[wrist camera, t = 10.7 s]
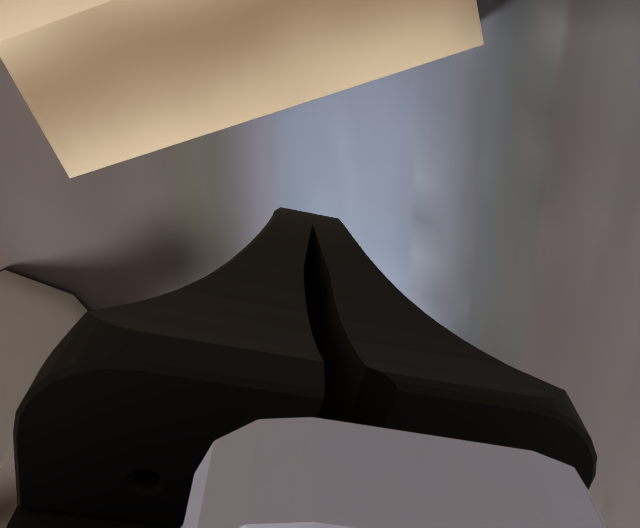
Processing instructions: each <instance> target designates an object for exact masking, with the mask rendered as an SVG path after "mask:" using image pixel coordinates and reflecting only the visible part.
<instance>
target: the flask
mask: <svg viewBox="0 0 640 528" xmlns="http://www.w3.org/2000/svg"><path fill="white" fill-rule="evenodd" d="M86 312H87V310H86V308H85V307H84V306H83V305H82V304H81V303H80V302H79V300H78V299H77V298H76V297H75V296H74V295H73V294H70V293H67V292H64V291H62V290H59V289H56V288H53V287H50V286H48V285H45V284H42V283H39V282H37V281H34V280H31V279H28V278H26V277H23V276H20V275H17V274H15V273H12V272H9V271H6V270H3V271H1V272H0V469H1V467H2V466H4V465H5V464H6V463H7V462H8V461H9V460H10V459H12V458H13V457H14V444H13V428H14V420H15V413H16V410H17V408H18V407H19V405H20V403H21V401H22V400H23V398H24V396H25V394H26V393H27V391H28V389H29V388H30V386H31V384H32V382H33V381H34V379H35V377H36V375H37V374H38V372H39V370H40V368H41V367H42V365H43V364H44V362H45V361H46V359H47V358H48V356H49V355H50V353H51V352H52V351H53V349H54V348H55V347H56V346H57V345H58V344H59V342H60V341H61V340H62V339H63V338H64V336H65V335H66V334H67V333H68V332H69V331H70V330H71V328H72V327H73V326H74V325H75V324H76V323H77V322H78V320H79V319H80V318H81V317H82V316H83V315H84V314H85V313H86Z"/></svg>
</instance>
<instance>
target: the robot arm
mask: <svg viewBox="0 0 640 528" xmlns="http://www.w3.org/2000/svg"><path fill="white" fill-rule="evenodd" d="M13 444H14V459H15V474H16V489H17V504H18V506H17V508H16V510H15V512H14V514H13V516H12V518H11V519H10V521H9V523H8V525H7V527H6V528H607V527H606V525H605V523H604V520H603V518H602V516H601V514H600V512H599V510H598V508H597V506H596V504H595V502H594V500H593V498H592V496H591V494H590V492H589V491H588V490H589V487H590V485H591V483H592V481H593V479H594V477H595V474H596V462H597V455H596V452H595V449H594V446H593V443H592V440H591V437H590V436H589V434H588V432H587V430H586V428H585V426H584V424H583V422H582V421H581V419H580V417H579V415H578V413H577V411H576V409H575V407H574V406H573V404H572V402H571V400H570V398H569V396H568V395H567V393H566V391H565V390H563V389H560V388H558V387H556V386H554V385H551V384H549V383H547V382H545V381H542V380H540V379H538V378H535V377H533V376H531V375H529V374H526V373H524V372H522V371H520V370H517V369H515V368H513V367H511V366H509V365H507V364H505V363H503V362H501V361H499V360H498V359H496V358H494V357H492V356H490V355H488V354H486V353H485V352H483V351H481V350H479V349H478V348H476V347H474V346H473V345H471V344H469V343H468V342H466V341H464V340H463V339H461V338H460V337H458V336H457V335H455V334H454V333H452V332H451V331H449V330H448V329H446V328H445V327H443V326H442V325H440V324H439V323H438V322H436V321H435V320H434V319H432V318H431V317H430V316H428V315H427V314H426V313H424V312H423V311H422V310H421V309H420V308H418V307H417V306H416V305H415V304H414V303H413V302H411V301H410V300H409V299H408V298H407V297H406V296H404V295H403V294H402V293H401V292H400V291H399V290H398V289H397V288H396V287H395V286H394V285H393V284H392V283H391V282H390V281H389V280H388V279H387V278H386V277H385V275H384V274H383V273H382V272H381V271H380V270H379V269H378V268H377V267H376V265H375V264H374V263H373V262H372V261H371V260H370V258H369V257H368V256H367V255H366V253H365V252H364V251H363V250H362V248H361V247H360V246H359V245H358V243H357V242H356V241H355V239H354V238H353V237H352V235H351V234H350V233H349V231H348V230H347V229H346V227H345V226H344V225H343V223H342V222H341V221H340V220H339V219H338V218H333V217H328V216H322V215H317V214H312V213H307V212H302V211H297V210H291V209H286V208H281V207H280V208H279V209H277V210H275V211H274V213H273V216H272V217H271V219H270V220H269V222H268V223H267V224H266V226H265V227H264V228H263V229H262V231H261V232H260V233H259V234H258V235H257V236H256V237H255V238H254V239H253V240H252V241H251V242H250V243H249V244H248V245H247V246H246V247H245V248H244V249H243V250H241V251H240V252H239V253H238V254H237V255H236V256H234V257H233V258H232V259H231V260H230V261H228V262H227V263H226V264H224V265H223V266H221V267H220V268H218V269H217V270H215V271H214V272H212V273H211V274H209V275H207V276H206V277H204V278H202V279H200V280H198V281H196V282H193V283H191V284H189V285H187V286H185V287H183V288H180V289H178V290H175V291H172V292H170V293H167V294H164V295H161V296H158V297H154V298H151V299H147V300H144V301H140V302H136V303H131V304H126V305H121V306H115V307H110V308H105V309H99V310H92V311H87V312H86V313H85V314H84V315H83V316H82V317H81V318H80V319H79V320H78V322H77V323H76V324H75V325H74V326H73V327H72V328H71V330H70V331H69V332H68V333H67V334H66V335H65V336H64V338H63V339H62V340H61V341H60V342H59V344H58V345H57V346H56V347H55V348H54V349H53V351H52V352H51V353H50V355H49V356H48V358H47V359H46V361H45V362H44V364H43V365H42V367H41V368H40V370H39V372H38V374H37V375H36V377H35V379H34V381H33V382H32V384H31V386H30V388H29V389H28V391H27V393H26V394H25V396H24V398H23V400H22V401H21V403H20V405H19V407H18V408H17V410H16V413H15V420H14V428H13Z"/></svg>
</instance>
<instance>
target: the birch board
mask: <svg viewBox="0 0 640 528" xmlns="http://www.w3.org/2000/svg"><path fill="white" fill-rule="evenodd" d="M481 45H484V43H483V37H482V31H481V25H480V19H479V13H478V7H477V1H476V0H0V57H1V59H2V61H3V63H4V64H5V66H6V68H7V70H8V71H9V73H10V75H11V77H12V78H13V80H14V82H15V84H16V85H17V87H18V89H19V91H20V92H21V94H22V96H23V97H24V99H25V101H26V103H27V104H28V106H29V108H30V110H31V111H32V113H33V115H34V117H35V118H36V120H37V122H38V124H39V125H40V127H41V129H42V131H43V132H44V134H45V136H46V138H47V139H48V141H49V143H50V144H51V146H52V148H53V150H54V151H55V153H56V155H57V157H58V158H59V160H60V162H61V164H62V165H63V167H64V169H65V171H66V172H67V174H68V176H69V178H72V177H75V176H79V175H82V174H85V173H88V172H91V171H94V170H97V169H100V168H103V167H106V166H110V165H113V164H116V163H119V162H122V161H125V160H128V159H131V158H134V157H137V156H140V155H144V154H147V153H150V152H153V151H156V150H159V149H162V148H165V147H168V146H171V145H174V144H178V143H181V142H184V141H187V140H190V139H193V138H196V137H199V136H202V135H205V134H209V133H212V132H215V131H218V130H221V129H224V128H227V127H230V126H233V125H236V124H239V123H243V122H246V121H249V120H252V119H255V118H258V117H261V116H264V115H267V114H270V113H273V112H277V111H280V110H283V109H286V108H289V107H292V106H295V105H298V104H301V103H304V102H308V101H311V100H314V99H317V98H320V97H323V96H326V95H329V94H332V93H335V92H338V91H342V90H345V89H348V88H351V87H354V86H357V85H360V84H363V83H366V82H369V81H372V80H376V79H379V78H382V77H385V76H388V75H391V74H394V73H397V72H400V71H403V70H407V69H410V68H413V67H416V66H419V65H422V64H425V63H428V62H431V61H434V60H437V59H441V58H444V57H447V56H450V55H453V54H456V53H459V52H462V51H465V50H468V49H471V48H475V47H478V46H481Z"/></svg>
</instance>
